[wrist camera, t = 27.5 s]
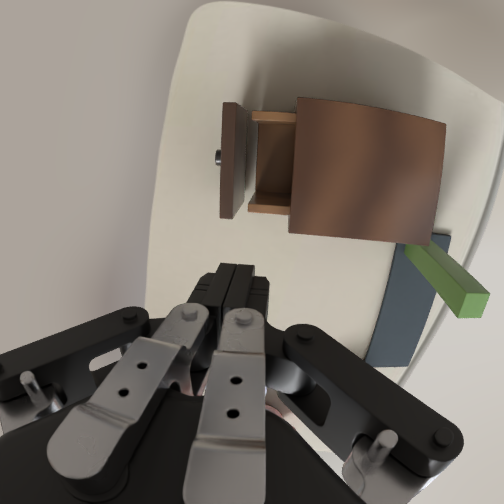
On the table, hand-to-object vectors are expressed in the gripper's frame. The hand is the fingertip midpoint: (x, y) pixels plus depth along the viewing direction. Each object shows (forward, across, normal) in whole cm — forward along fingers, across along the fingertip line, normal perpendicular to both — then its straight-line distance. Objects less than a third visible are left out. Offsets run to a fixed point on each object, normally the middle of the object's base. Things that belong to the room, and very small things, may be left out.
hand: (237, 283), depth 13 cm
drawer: (+22, -2, -4) cm, 22 cm away
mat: (+22, -20, +14) cm, 34 cm away
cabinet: (+23, -9, -4) cm, 25 cm away
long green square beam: (+22, -19, +5) cm, 30 cm away
